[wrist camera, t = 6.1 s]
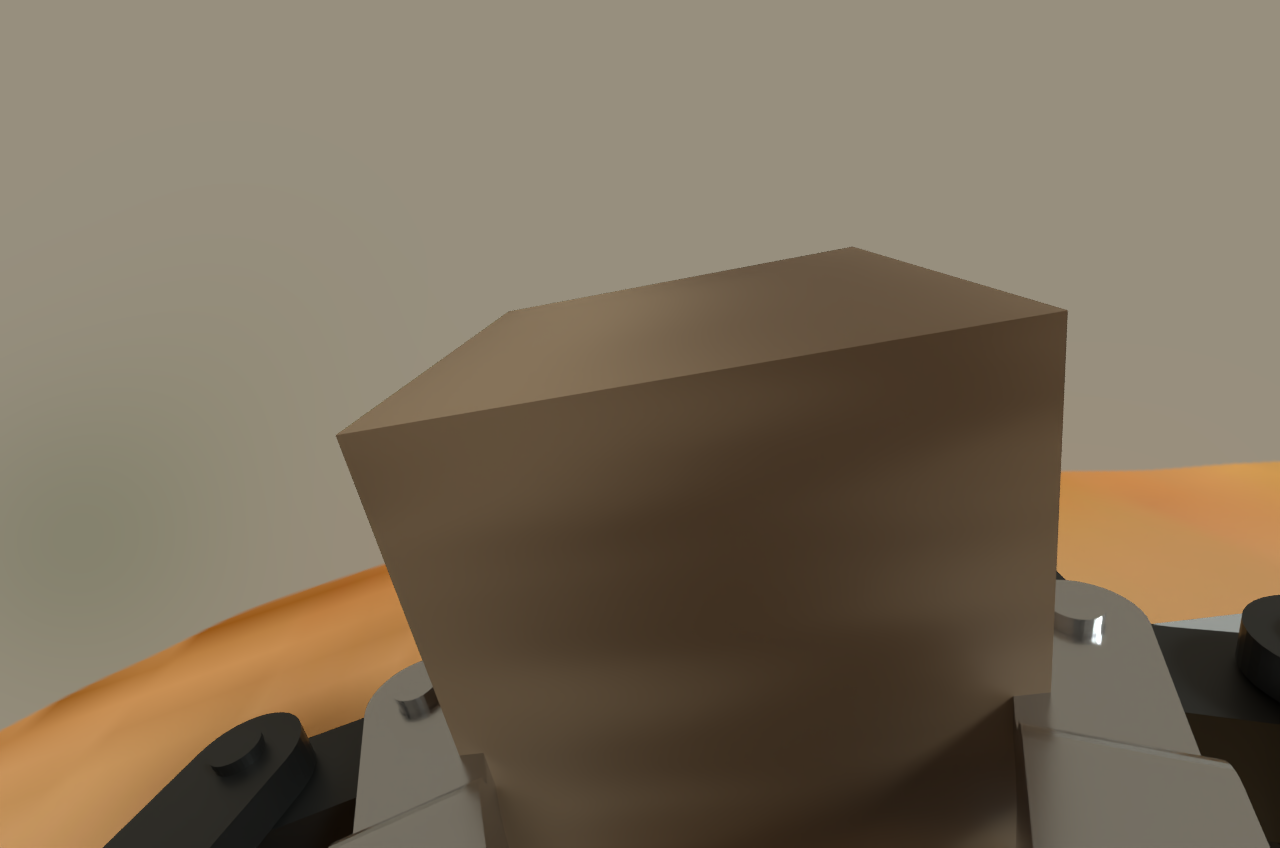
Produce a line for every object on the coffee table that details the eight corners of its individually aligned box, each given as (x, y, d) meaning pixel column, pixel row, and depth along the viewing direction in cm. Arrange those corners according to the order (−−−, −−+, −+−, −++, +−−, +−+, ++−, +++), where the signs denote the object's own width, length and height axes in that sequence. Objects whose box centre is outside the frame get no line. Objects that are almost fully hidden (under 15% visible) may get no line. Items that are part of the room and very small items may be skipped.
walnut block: (615, 1159, 9) (335, 435, 5) (637, 797, 14) (508, 311, 10) (1031, 1149, 8) (1067, 310, 4) (890, 774, 13) (852, 246, 9)
